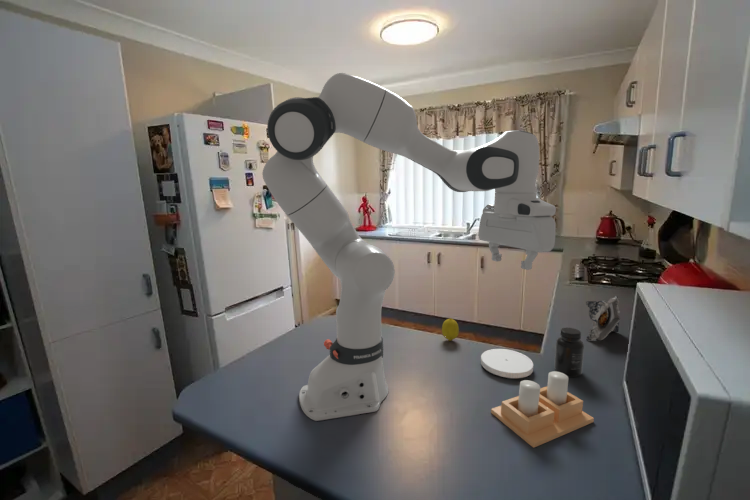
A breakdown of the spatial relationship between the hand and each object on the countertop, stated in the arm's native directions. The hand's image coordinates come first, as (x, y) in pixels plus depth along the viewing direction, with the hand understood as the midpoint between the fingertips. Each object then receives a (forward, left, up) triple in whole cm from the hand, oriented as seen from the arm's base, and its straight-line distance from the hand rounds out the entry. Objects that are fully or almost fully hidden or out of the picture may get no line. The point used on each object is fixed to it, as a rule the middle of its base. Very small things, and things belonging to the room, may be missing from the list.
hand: (510, 264), depth 82 cm
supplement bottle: (+23, 0, -33) cm, 41 cm away
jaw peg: (-4, -11, -32) cm, 34 cm away
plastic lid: (+10, +9, -34) cm, 36 cm away
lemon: (+5, +30, -33) cm, 45 cm away
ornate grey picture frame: (+54, +11, -33) cm, 64 cm away
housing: (0, -11, -33) cm, 35 cm away
